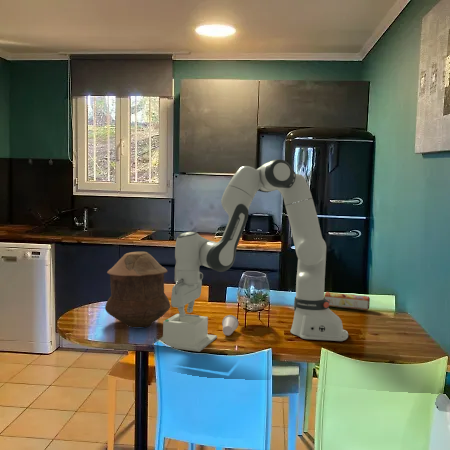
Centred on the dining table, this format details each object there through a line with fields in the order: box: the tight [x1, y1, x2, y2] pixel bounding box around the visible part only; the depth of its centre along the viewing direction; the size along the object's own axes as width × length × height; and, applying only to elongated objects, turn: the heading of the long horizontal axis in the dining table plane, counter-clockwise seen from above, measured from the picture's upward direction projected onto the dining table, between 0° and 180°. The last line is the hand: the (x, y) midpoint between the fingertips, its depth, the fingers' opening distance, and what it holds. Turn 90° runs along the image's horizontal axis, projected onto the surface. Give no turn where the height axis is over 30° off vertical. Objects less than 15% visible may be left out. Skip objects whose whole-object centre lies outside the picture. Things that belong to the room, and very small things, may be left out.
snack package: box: [324, 291, 371, 311], centre depth 251 cm, size 21×7×7 cm
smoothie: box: [221, 314, 239, 336], centre depth 204 cm, size 6×6×14 cm
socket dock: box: [151, 313, 218, 352], centre depth 191 cm, size 18×18×9 cm
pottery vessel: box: [104, 251, 171, 328], centre depth 208 cm, size 26×26×30 cm
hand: (186, 314), depth 190 cm, fingers open, 6 cm apart
